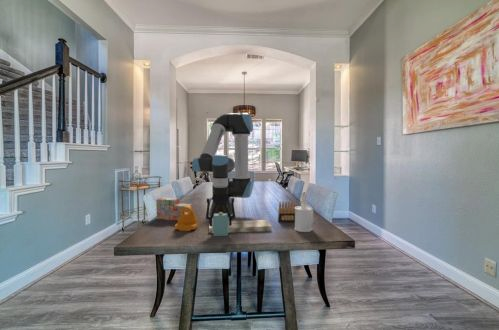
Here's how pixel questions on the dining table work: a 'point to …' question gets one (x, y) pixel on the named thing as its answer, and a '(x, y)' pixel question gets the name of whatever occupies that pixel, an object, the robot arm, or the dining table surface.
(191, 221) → the orange bell-shaped figure
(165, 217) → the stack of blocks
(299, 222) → the white smoke grenade
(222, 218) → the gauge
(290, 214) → the ammunition clip
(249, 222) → the board
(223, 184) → the robot arm
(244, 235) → the dining table surface
